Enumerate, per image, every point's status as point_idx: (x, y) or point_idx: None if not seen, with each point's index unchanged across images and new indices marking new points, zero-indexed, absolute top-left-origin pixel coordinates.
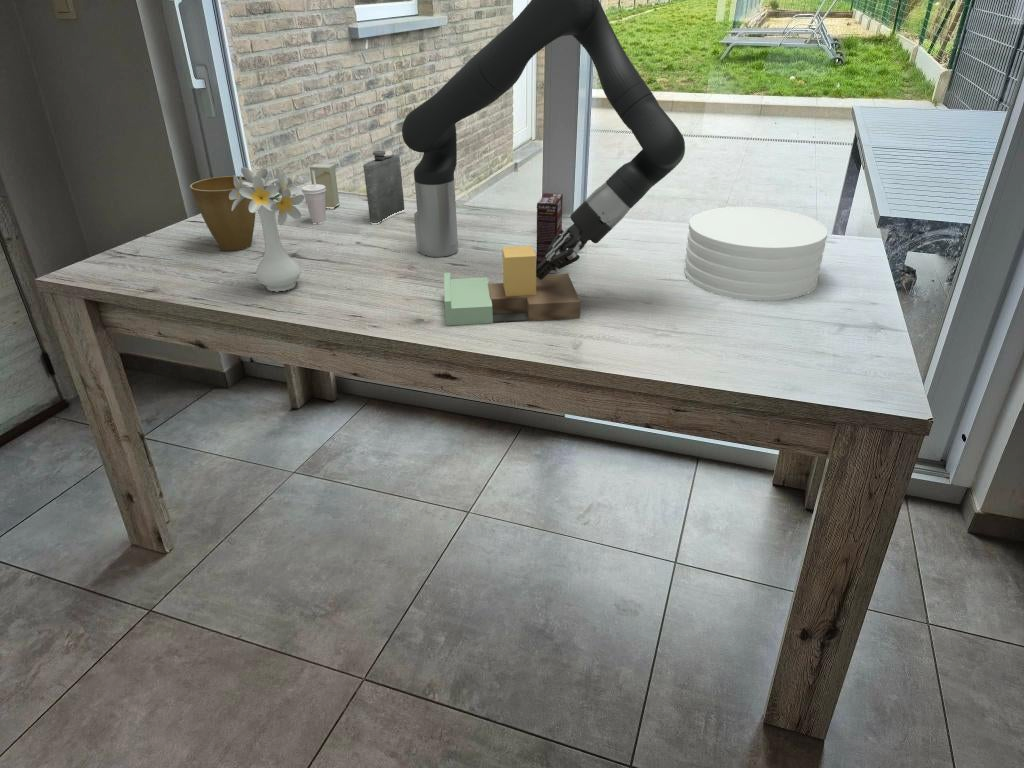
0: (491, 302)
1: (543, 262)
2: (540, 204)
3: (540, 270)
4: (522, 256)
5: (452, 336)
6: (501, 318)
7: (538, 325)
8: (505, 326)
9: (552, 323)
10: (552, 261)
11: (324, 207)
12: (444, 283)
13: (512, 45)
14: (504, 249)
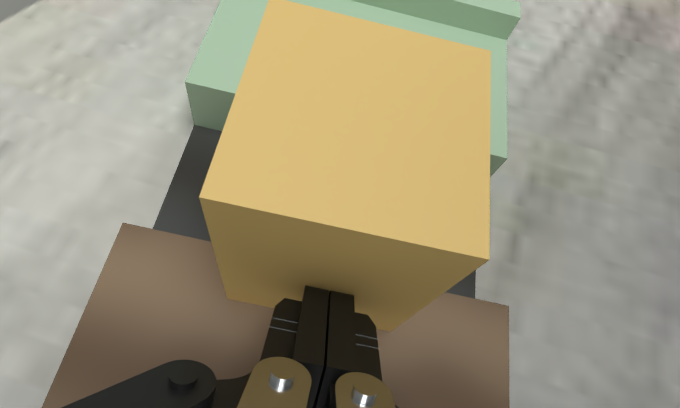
0: (226, 90)
1: (316, 343)
2: None
3: (281, 316)
4: (242, 98)
5: (156, 3)
6: (207, 159)
7: (79, 279)
8: (143, 157)
9: (62, 350)
10: (155, 373)
11: None
12: None
13: None
14: (438, 45)
